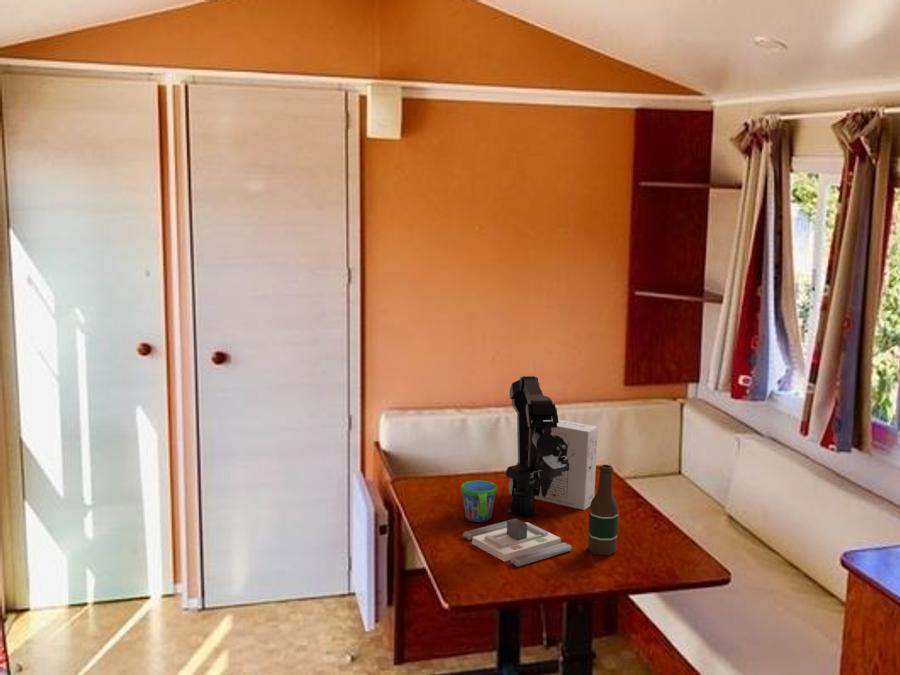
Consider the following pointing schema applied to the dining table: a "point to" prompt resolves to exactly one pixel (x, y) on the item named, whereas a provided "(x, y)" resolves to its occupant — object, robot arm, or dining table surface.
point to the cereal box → (574, 465)
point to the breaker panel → (515, 542)
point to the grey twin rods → (523, 558)
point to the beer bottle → (603, 516)
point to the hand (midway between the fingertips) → (537, 498)
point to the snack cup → (478, 500)
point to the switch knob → (517, 529)
